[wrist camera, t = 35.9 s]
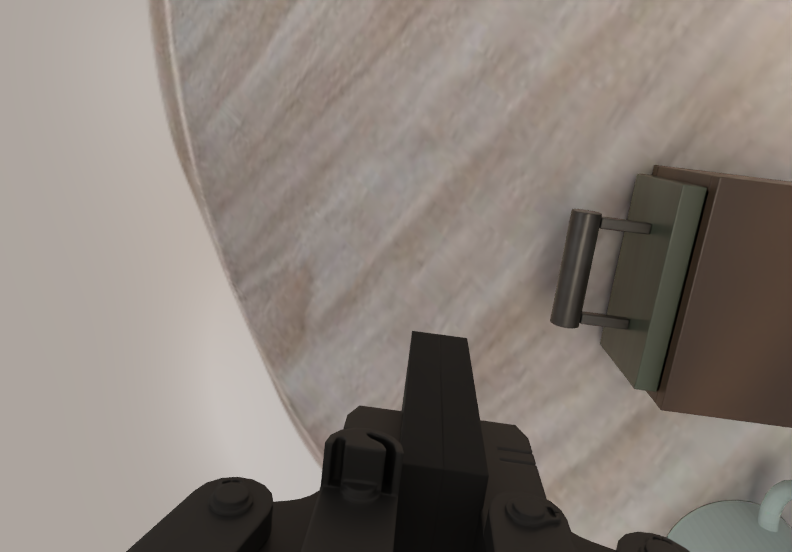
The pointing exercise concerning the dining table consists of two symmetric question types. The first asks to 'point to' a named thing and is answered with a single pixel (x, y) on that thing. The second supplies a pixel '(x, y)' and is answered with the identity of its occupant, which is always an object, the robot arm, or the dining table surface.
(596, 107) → the dining table surface
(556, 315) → the drawer
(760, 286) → the cabinet
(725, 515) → the mug
